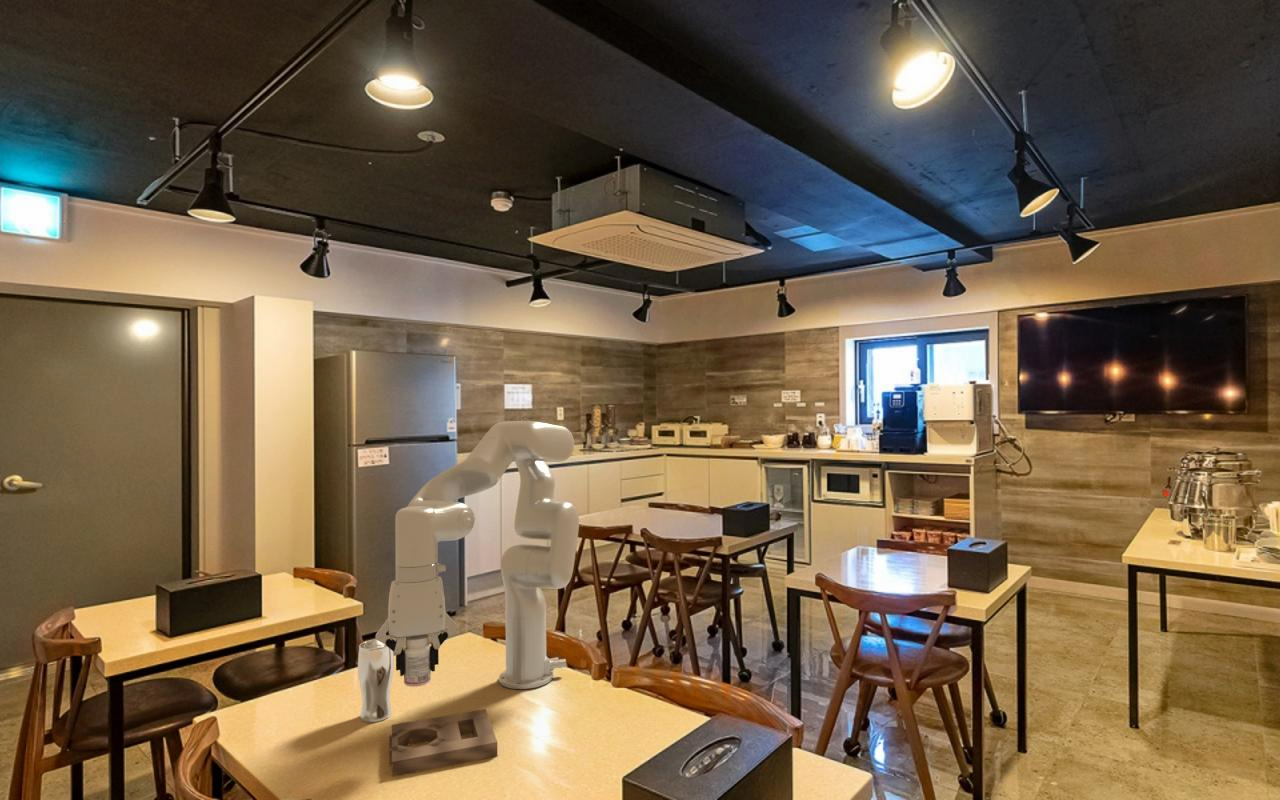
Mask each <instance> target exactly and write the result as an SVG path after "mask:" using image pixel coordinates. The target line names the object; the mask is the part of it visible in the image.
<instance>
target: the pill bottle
mask: <svg viewBox="0 0 1280 800" xmlns="http://www.w3.org/2000/svg"><path fill="white" fill-rule="evenodd" d="M405 646H406V647H405V648H404V649H403V650H404V675H403V683H404V685H405V686H407V687H410V688H411V687H413V688H414V687H416V688H417V687H422V686H425V685H427V684H428V683H430V682H431V680H432V673H431V672H432V671H431V649H430V646H431V645H429V634H428V635H421V636H413V637H405Z"/></svg>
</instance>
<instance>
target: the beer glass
mask: <svg viewBox="0 0 1280 800" xmlns="http://www.w3.org/2000/svg"><path fill="white" fill-rule="evenodd" d="M358 649H359V650H358V658H357V663H358V664H357V674H358V680H359V681H358V682H359V686H360V693H361V698H362V699H361V701H362V703H361V705H362V706H361V711H360V717H359V718H360V721H362V723H368V722H369V723H378V722H381V720H382V721H384V719H385V720H387V719H388V718H390V717H391V716H392V714H393V713H392V707H391V701H390V699H391V698H390V697H391V696H390V693H391V687H392V682H393V681H392V680H393V676H394V666H395V661H394V660H395V659H394V657H395V656H394V655H395V653H394V652H393V651H392V650H391V649H390V648H388V647H387V646H386V645H385V644H383V643H381V642H380V641H378V640H376V638H374V639H370V640H366V641H363V642H361V643H360V644H359V645H358ZM389 716H390V717H389ZM386 718H387V719H386Z"/></svg>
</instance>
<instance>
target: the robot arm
mask: <svg viewBox="0 0 1280 800" xmlns="http://www.w3.org/2000/svg"><path fill="white" fill-rule="evenodd" d="M574 449H575V440H574V436H573V434H572V432H571V431H570V430H569V429H568V428H567V427H565V426H562V425H557V424H551V423H545V422H542V421H535V420H532V421H531V420H519V421H518V420H517V421H516V420H515V421H514V420H511V421H510V420H509V421H500V422H497V423H495V424H494V425H492V426H491V427H490V429H488V431H487V432H486V433H485V435H484V436H483V437H482V438H481V439H480V441H478V443H477V445H476V446H475V447H474V448H473V449H472V450H471V452H470V453H469V454H468V456H467V457H466V458H465V459H464V460H463V461H461V462H459V463H457V464H455V465H453V466H451V467H450V468H448V469H446V470H445V471H443V472H441V473H440V474H438V475H436V476H435V477H433V478H431V479H430V480H428V482H426V483H425V484H424V485H423V486H422V487H420V489H419V490H418V492H417V493H416V494H415V495H414V496H413V497H412V498H411V500H410V501H409V503H408V505H406V507H402V508H400V509H398V510H397V512H395V513H396V514H395V517H394V518H395V519H394V520H395V523H394V524H395V525H394V526H395V527H394V528H395V530H394V531H395V533H394V534H395V535H394V536H395V580H392V581H391V582H390V587H389V595H388V609H387V619H386V620H385V622H383V624H382V625H381V627H380V628H379V629H378V631H377V632H376V634H375V638H374V639H376V640H378V641H380V642H381V643H383V644H385V645H386V646H387V647H388V648H390V649H391V650H392V651H393V654H394V655H395V670H396V671H399V677H404V650H405V649H404V648H403V646H404V643H405V640H406V637H413V636H421V635H428V636H430V640H431V643H430V645H429V646H430V649H431V672H435V671H436V666H437V665H439V663H440V662H439V658H440V657H439V649H440V647H441V646H442V645H443V643H445V641H446V640H447V639H448V638H449V636H451V635H452V634H453V633H455V632H456V631H457V629H458V624H457V623H456V622H455V621H454V620H453V619H452V617H451V616H450V615H449V614H448V613H447V611H446V602H445V601H446V599H445V592H444V591H445V590H444V584H443V579H442V577H441V576H439V575H440V573H442V572H446V571H447V567H446V564H442V563H439V560H438V559H439V557H438V555H439V552H438V551H439V549H438V547H439V545H438V543H440V542H445V541H446V542H447V541H457V540H461V539H463V538H465V537H467V536H468V535H469V534H470V533H471V531H472V530H473V528H474V525H475V521H476V517H475V513H474V510H473V509H472V508H471V507H470V506H469V505H468V504H466V503H463V502H461V501H457V500H459V499H462V498H464V497H465V498H466V497H469V496H473V495H475V494H478V493H479V494H480V493H482V492H484V491H487V490H489V489H492V488H493V487H494V486H496V485H497V483H498V482H499V481H500V480H501V478H502V476H504V474H505V472H506V471H507V469H508V468H509V467H510V466H511V464H512V463H513V461H514V463H515V465H516V467H517V470H518V474H519V478H520V481H519V483H520V484H519V490H518V491H519V492H518V497H517V503H516V509H515V514H514V515H515V516H514V531H515V533H516V535H518V537H520V538H523V539H527V540H537V541H550V546H547V545H539V544H537V545H536V544H515V545H512V546H511V547H509V548H507V549H506V550H505V552H504V553H503V554H502V557H501V559H500V573H501V578H502V582H503V588H504V589H503V590H504V602H505V605H504V606H505V669H504V670H503V671H502V672H501V673H500V674H499V676H498V678H499V679H498V680H499V682H498V683H499V684H500V685H501V686H504V687H505V688H508V689H512V690H513V689H514V690H528V689H534V688H539V687H542V686H544V685H547V684H549V682H551V681H552V680H553V678H554V669H561V668H562V669H563V668H567V659H566V658H562V659H561V658H560V659H559V657H558V656H556V657H552V658H549V657H548V656H547V605H546V604H547V603H546V599H545V596H544V593H543V591H542V589H549V590H550V589H553V590H559V589H563V588H565V587H567V585H568V584H569V582H570V581H571V579H572V575H573V573H574V566H575V560H576V552H577V545H578V537H579V529H580V518H579V513H578V510H577V508H576V507H575V505H573V503H571V502H568V501H565V500H554V495H555V488H556V487H555V486H556V485H555V484H556V481H555V478H554V474H553V472H552V470H551V468H550V467H549V466H548V464H547V462H550V463H555V462H556V463H559V462H560V463H561V462H566V461H567V460H568V459H569V458H570V457H572V454H573V452H574ZM446 626H447V627H446ZM387 633H388V634H389V636H388V635H387ZM438 633H439V634H438Z"/></svg>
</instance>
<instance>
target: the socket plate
mask: <svg viewBox="0 0 1280 800" xmlns="http://www.w3.org/2000/svg"><path fill="white" fill-rule="evenodd" d="M487 711H488V710H487V708H484V709H476V710H471V711H465V712H460V713H453V714H447V715H442V716H436V717H435V716H434V717H429V718H425V719H418V720H413V721H406V722H400V723H394V724H391V734H390V735H389V736H388V738H389V740H388V747H389V748H388V749H390V750H389V751H388V754H389V755H388V756H389V757H388V759H389V761H388V762H389V763H388V764H389V765H391V776H393V777H396V775H398V776H402V775H409V774H413V773H418V772H422V771H427V770H432V769H439V768H442V767H448V766H453V765H458V764H463V763H467V762H472V761H479V760H482V759H483V760H484V759H488V758H493V757H498V740H497V737H496V734H495V731H494V729H493V726H492V723H491V720H490V717H489V714H488V712H487ZM468 733H473V736H474V737H469V738H462V736H461V734H468ZM424 742H426V743H428V744H422V745H418V746H412V747H407V746H408V744H409V745H412V743H413V744H417V743H424Z"/></svg>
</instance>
